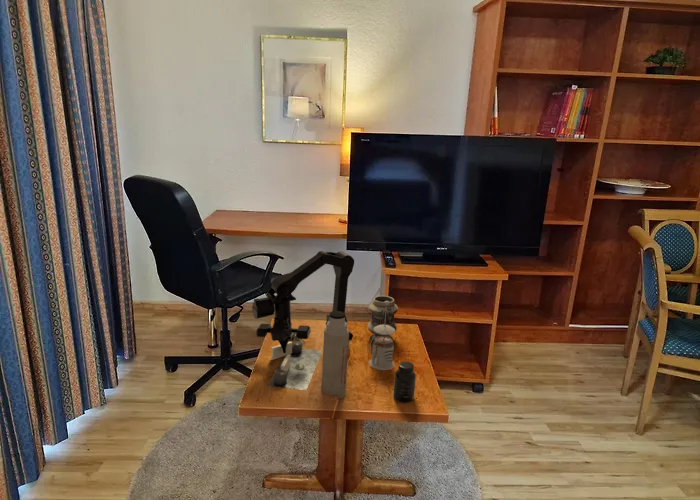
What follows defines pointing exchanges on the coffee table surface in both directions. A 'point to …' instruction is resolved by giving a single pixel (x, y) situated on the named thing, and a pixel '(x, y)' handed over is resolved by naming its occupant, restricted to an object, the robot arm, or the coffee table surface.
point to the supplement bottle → (404, 382)
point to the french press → (382, 347)
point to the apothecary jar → (382, 314)
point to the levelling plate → (299, 369)
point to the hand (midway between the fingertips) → (284, 352)
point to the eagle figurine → (298, 339)
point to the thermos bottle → (335, 355)
